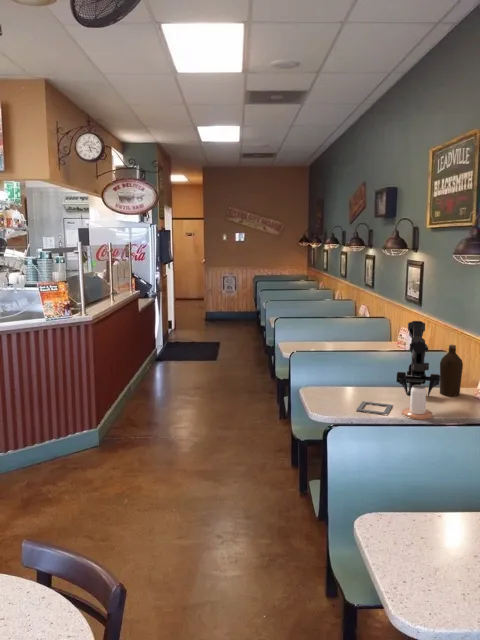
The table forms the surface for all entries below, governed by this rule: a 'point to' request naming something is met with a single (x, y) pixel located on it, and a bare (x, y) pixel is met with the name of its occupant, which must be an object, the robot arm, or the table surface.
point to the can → (418, 399)
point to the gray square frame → (374, 404)
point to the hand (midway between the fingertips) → (417, 394)
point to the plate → (424, 416)
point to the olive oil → (450, 373)
